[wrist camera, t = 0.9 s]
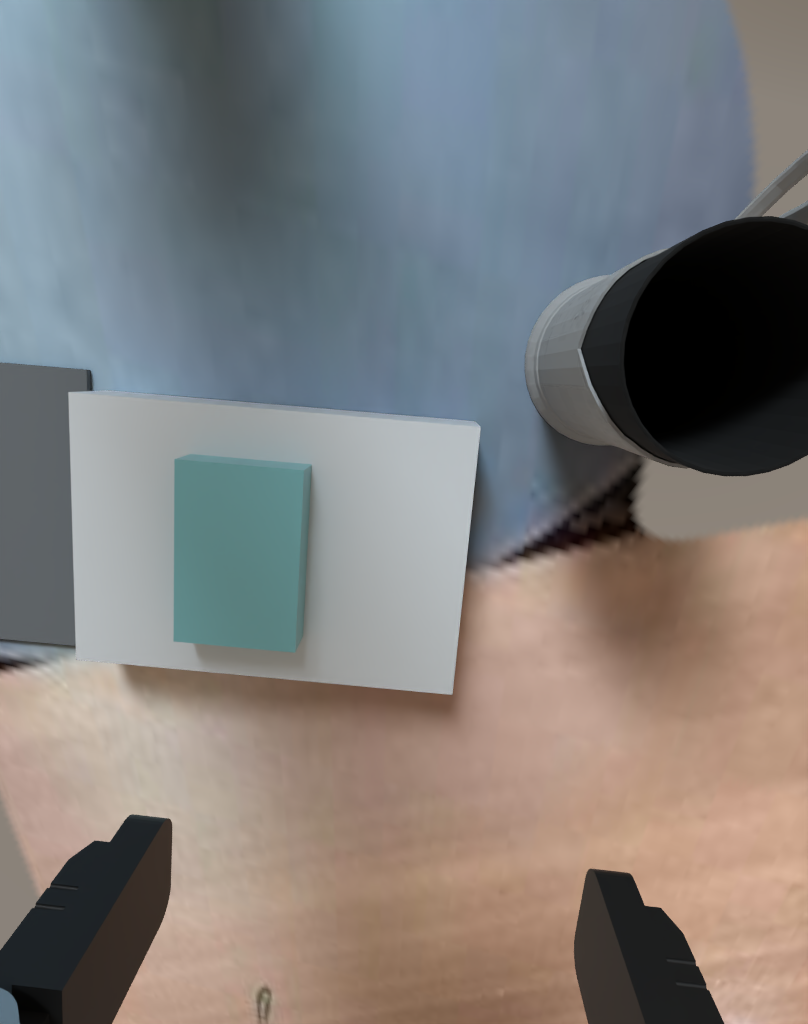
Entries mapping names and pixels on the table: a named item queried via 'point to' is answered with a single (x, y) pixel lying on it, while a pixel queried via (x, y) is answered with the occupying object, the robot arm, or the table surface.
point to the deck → (331, 535)
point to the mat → (36, 503)
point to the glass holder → (689, 347)
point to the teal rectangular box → (240, 551)
